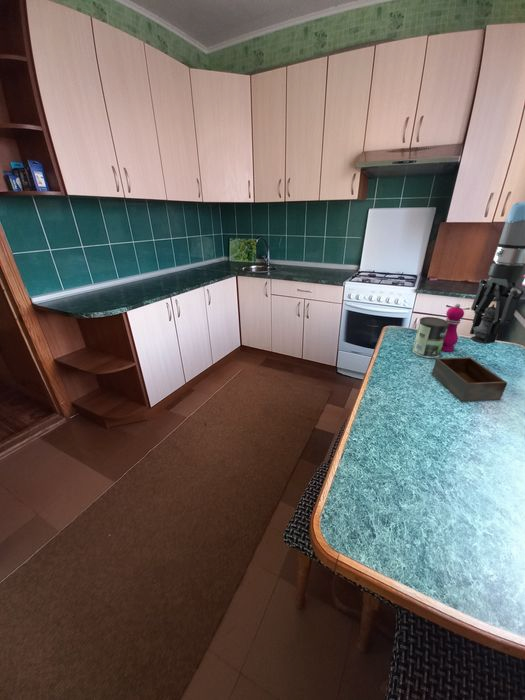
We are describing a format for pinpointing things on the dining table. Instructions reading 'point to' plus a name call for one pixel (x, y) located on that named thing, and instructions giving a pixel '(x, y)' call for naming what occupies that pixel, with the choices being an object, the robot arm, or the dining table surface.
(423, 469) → the dining table surface
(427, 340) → the coffee can
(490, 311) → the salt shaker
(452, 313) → the pepper mill
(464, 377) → the holder
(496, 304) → the robot arm
